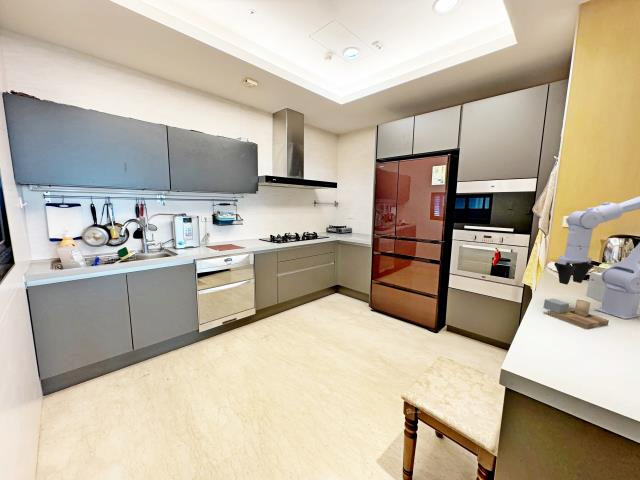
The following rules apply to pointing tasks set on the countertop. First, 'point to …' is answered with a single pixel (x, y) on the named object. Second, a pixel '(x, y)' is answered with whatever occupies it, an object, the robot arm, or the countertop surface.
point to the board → (580, 319)
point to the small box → (596, 286)
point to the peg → (582, 308)
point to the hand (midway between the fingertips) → (570, 283)
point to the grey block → (556, 305)
